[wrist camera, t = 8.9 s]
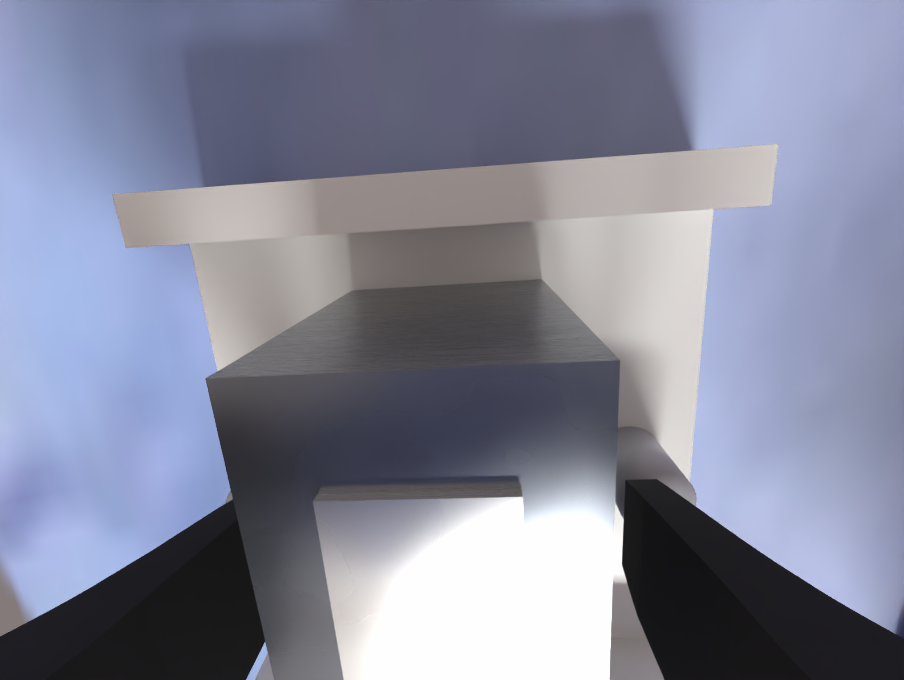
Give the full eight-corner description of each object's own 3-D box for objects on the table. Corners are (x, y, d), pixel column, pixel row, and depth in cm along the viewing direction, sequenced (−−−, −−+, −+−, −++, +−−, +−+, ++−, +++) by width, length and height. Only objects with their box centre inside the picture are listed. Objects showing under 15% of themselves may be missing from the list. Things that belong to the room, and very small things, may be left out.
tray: (696, 162, 10) (778, 143, 8) (660, 634, 14) (706, 741, 11) (205, 199, 11) (112, 193, 8) (293, 633, 15) (249, 733, 12)
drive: (541, 279, 10) (625, 364, 4) (546, 593, 13) (603, 918, 7) (352, 290, 11) (197, 383, 5) (391, 594, 13) (319, 904, 7)
